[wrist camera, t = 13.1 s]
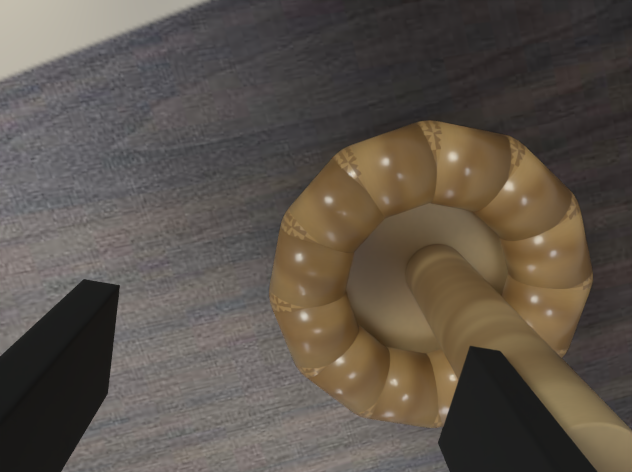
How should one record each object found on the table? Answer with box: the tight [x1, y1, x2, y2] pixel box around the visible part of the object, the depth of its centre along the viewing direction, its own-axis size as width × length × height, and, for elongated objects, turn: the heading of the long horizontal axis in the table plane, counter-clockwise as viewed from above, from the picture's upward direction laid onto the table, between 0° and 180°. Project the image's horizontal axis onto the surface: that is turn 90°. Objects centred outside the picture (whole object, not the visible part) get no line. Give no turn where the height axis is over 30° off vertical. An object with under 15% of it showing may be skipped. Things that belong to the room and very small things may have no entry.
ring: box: [269, 120, 593, 428], centre depth 20 cm, size 12×12×3 cm
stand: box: [346, 203, 632, 472], centre depth 16 cm, size 9×9×14 cm
